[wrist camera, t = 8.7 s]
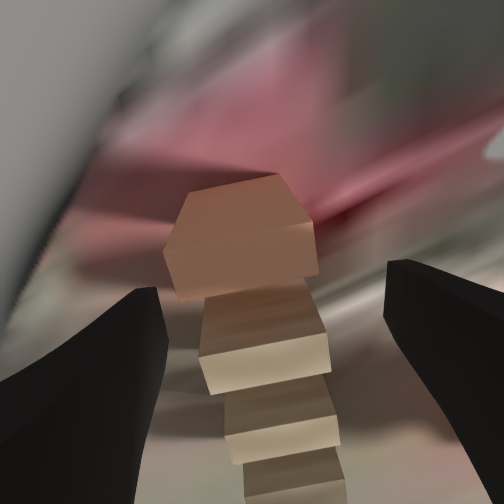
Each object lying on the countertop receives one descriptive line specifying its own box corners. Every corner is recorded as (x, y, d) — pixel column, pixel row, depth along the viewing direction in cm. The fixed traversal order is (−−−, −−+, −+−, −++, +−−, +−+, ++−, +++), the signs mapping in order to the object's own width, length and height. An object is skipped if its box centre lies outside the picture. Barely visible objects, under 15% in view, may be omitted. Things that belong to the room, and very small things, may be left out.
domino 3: (304, 335, 23) (340, 445, 16) (232, 349, 23) (233, 465, 16) (300, 310, 22) (336, 414, 15) (225, 325, 22) (224, 436, 15)
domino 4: (312, 384, 25) (347, 502, 17) (245, 397, 25) (252, 520, 18) (309, 363, 24) (344, 479, 17) (239, 376, 24) (244, 497, 17)
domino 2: (295, 277, 21) (331, 371, 14) (216, 293, 21) (210, 395, 14) (291, 248, 20) (326, 332, 13) (209, 265, 20) (198, 357, 13)
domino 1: (284, 208, 19) (319, 274, 12) (198, 226, 19) (179, 302, 12) (279, 173, 18) (312, 221, 11) (188, 192, 18) (162, 252, 11)
